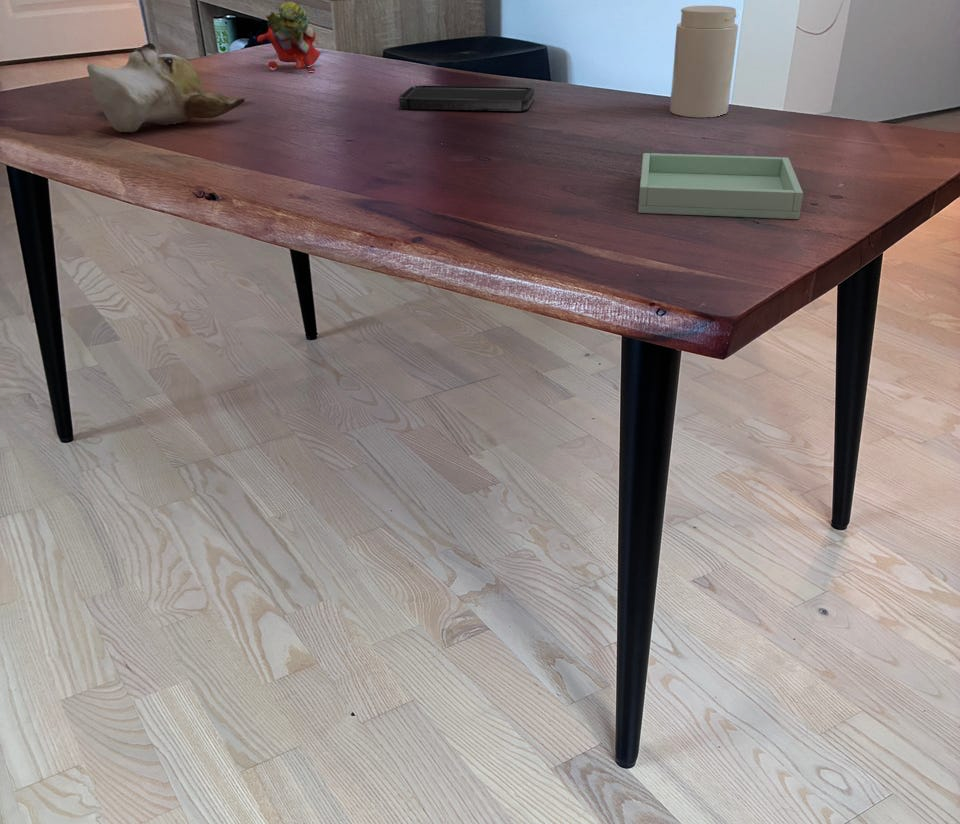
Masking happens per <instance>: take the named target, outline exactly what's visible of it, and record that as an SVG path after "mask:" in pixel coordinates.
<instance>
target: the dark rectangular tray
mask: <svg viewBox="0 0 960 824" xmlns="http://www.w3.org/2000/svg"><path fill="white" fill-rule="evenodd" d="M534 101H535V88H533V87H526V86H525V87H523V86H518V87H517V86H514V87H513V86H466V85H464V86H463V85H413V86H410V87H409V88H407V90H405V91H404V92H403V93H402V94H400V95H399V96H398V102H399V108H400V109H405V110H408V109H409V110H447V111H448V110H449V111H450V110H451V111H454V110H455V111H459V110H460V111H492V112H493V111H494V112H495V111H496V112H498V111H499V112H524V111H528V110H529V109H530V107H531V105H532V104H533V102H534Z"/></svg>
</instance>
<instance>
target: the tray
mask: <svg viewBox="0 0 960 824" xmlns="http://www.w3.org/2000/svg"><path fill="white" fill-rule="evenodd" d="M639 182H640V183H639V194H638V209H637V213H638V214H658V215H659V214H661V215H683V216H684V215H685V216H686V215H687V216H711V217H732V218H733V217H735V218H755V219H781V220H782V219H785V220H799V219H800V216H801V208H802V203H803V196H804V191H803V190H802V189H803V188H802V187H801V185H800V182H799V180H798V177H797V174H796V172H795V170H794V168H793V165H792V162H791V160H790V158H789V157H787V156H786V157H785V156H782V157H781V156H758V155H757V156H753V155H752V156H751V155H723V154H722V155H720V154H689V153H687V154H686V153H685V154H684V153H656V152H655V153H653V152H644V153H642V162H641V172H640V181H639Z"/></svg>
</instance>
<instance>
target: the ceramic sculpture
mask: <svg viewBox="0 0 960 824" xmlns="http://www.w3.org/2000/svg"><path fill="white" fill-rule="evenodd" d="M86 70H87V73H88V77H89V82H90V85H91V89H92V93H93V97H94V100H95V102H96V104H97V105H98V106H99V107H100V109H101V110H102V112H103V114H104V116H105V117H106V119H107V121H108V122H109V124H110V126H111V127H112V128H113V129H114V130H115V131H116V132H118V131H119V133H121V132H130V133H135V132H137V131H138V130H139V129H140V127H141V125H143V124H147V123H149V124H154V125H158V124H159V125H160V126H168V125H167V124H174V125H176V124H175V123H179V124H183V123H182V122H184V123H186V122H188V121H189V120H190V119H193V118H196V119H213V118H217V117H219V116H223V115H225V114H226V113H228V112H230V111H232V110H233V109H235V108H236V107H239V106H241V105H242V104H243V103H244V102H245V101H246V100H245V98H244V97H228V96H226V95H224V94H222V93H218V92H208V91H205V90H204V88H203V86H202V83H201V79H200V75H199V73H198V70H197V69H196V68H195V67H194V65H192V64H191V62H189V61H188V60H186V59H185V58H184V57H181V56H179V55H175V54H172V53H163V54H159V51H158V49H157V47H156V46H155V45H154V43H152V42H149V43H146V44H144V45H142V46H139V47H136V48H135V50H134V51H133V52H131V53H130V54H129V56H128V60H127V62H126V64H125V65H123V66H120V67H116V68H111V67H106V66H102V65H101V66H100V65H96V64H94V63H88V64H87V66H86Z"/></svg>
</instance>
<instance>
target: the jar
mask: <svg viewBox="0 0 960 824" xmlns="http://www.w3.org/2000/svg"><path fill="white" fill-rule="evenodd" d="M680 12H681V16H680V22H679V23H677V24H676V28H675V29H676V31H675V44H674V55H673V66H672V76H671V87H670V102H669V112H670V113H672V114H674V115H676V116H679V117H684V118H686V117H687V118H697V119H701V118H702V119H704V118H705V119H707V118H708V117H709V118H717V116H719V117H721V116H720V115H723V114H726V113H727V112H728V113H729V106H730V98H731V90H732V81H733V72H734V63H735V56H736V55H735V54H736V46H737V39H738V29H739V25H738V24H737V23H735V22H736V21H735V20H736V18H737V17H738V15H737V9H736V8H735V7H732V6H726V5H725V6H724V5H691V6H685V7H682V8H680ZM728 113H727V114H728ZM727 114H726V115H727ZM723 116H724V115H723Z"/></svg>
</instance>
